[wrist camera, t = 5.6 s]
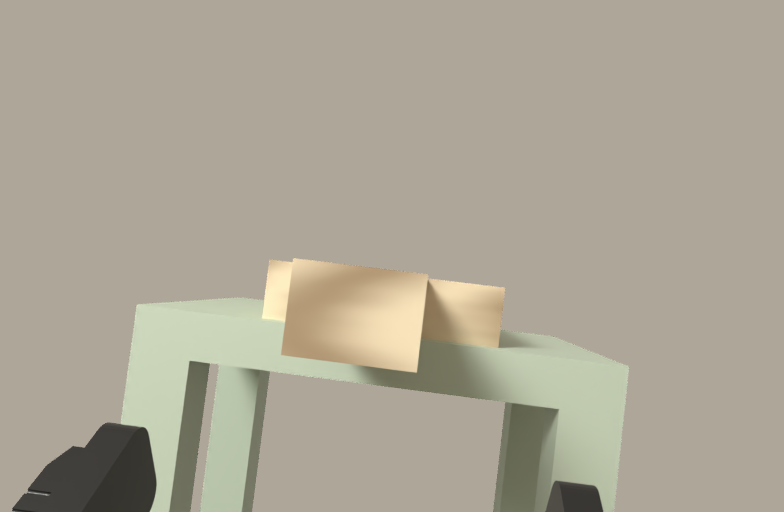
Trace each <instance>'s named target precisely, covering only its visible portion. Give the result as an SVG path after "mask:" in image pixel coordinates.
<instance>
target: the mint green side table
mask: <svg viewBox="0 0 784 512" xmlns="http://www.w3.org/2000/svg"><path fill="white" fill-rule="evenodd" d="M263 307H264V300H256V299H249V298H226V299H211V300H196V301H181V302H167V303H151V304H138V305H137V308H136V316H135V323H134V330H133V337H132V345H131V352H130V360H129V367H128V374H127V381H126V388H125V396H124V403H123V410H122V417H121V424H123V425H131V426H138V427H145V428H146V429H147V431H148V433H149V438H150V444H151V450H152V456H153V462H154V467H155V473H156V480H157V487H156V494H155V498H154V502H153V505H152V508H151V510H150V512H190V509H191V501H192V494H193V486H194V478H195V471H196V463H197V455H198V448H199V441H200V433H201V426H202V418H203V410H204V403H205V396H206V388H207V380H208V373H209V365H210V363H211V364H219V370H218V377H217V385H216V393H215V400H214V408H213V416H212V423H211V431H210V439H209V446H208V453H207V461H206V469H205V477H204V484H203V493H202V499H201V507H200V512H252V506H253V499H254V490H255V483H256V475H257V467H258V459H259V452H260V444H261V436H262V428H263V420H264V412H265V405H266V397H267V389H268V381H269V374H270V371H273V372H280V373H287V374H296V375H303V376H310V377H318V378H325V379H333V380H341V381H349V382H356V383H363V384H371V385H380V386H386V387H394V388H401V389H410V390H418V391H425V392H432V393H440V394H447V395H456V396H463V397H470V398H478V399H485V400H493V401H500V402H505V411H504V420H503V429H502V439H501V448H500V456H499V465H498V474H497V483H496V493H495V502H494V511H493V512H545V511H546V508H547V504H548V500H549V497H550V493H551V489H552V486H553V483H554V482H555V481H556V480H557V481H564V482H572V483H579V484H587V485H594V486H596V487H597V489H598V491H599V495H600V499H601V503H602V507H603V512H614V506H615V496H616V486H617V477H618V467H619V458H620V448H621V438H622V429H623V419H624V409H625V400H626V390H627V381H628V370H629V366H626V365H623V364H621V363H619V362H616V361H614V360H611V359H609V358H606V357H604V356H601V355H598V354H596V353H594V352H591V351H589V350H586V349H584V348H581V347H579V346H576V345H574V344H571V343H569V342H566V341H564V340H561V339H559V338H556V337H554V336H546V335H539V334H530V333H522V332H514V331H506V330H500V337H499V346H498V348H495V347H487V346H479V345H471V344H463V343H456V342H448V341H440V340H432V339H424V338H421V341H420V349H419V358H418V366H417V373H415V372H407V371H399V370H392V369H384V368H376V367H369V366H361V365H353V364H345V363H338V362H330V361H322V360H315V359H307V358H299V357H291V356H284V355H281V350H282V343H283V335H284V327H285V321H281V320H273V319H265V318H262V315H263Z"/></svg>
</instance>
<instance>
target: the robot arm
mask: <svg viewBox="0 0 784 512" xmlns="http://www.w3.org/2000/svg"><path fill="white" fill-rule="evenodd" d="M156 487H157V480H156V473H155V467H154V462H153V456H152V450H151V444H150V438H149V433H148V431H147V429H146V428H145V427H138V426H131V425H123V424H116V423H105V424H104V425H102V426H101V427H100V428H99V429H98V431H97V432H96V433H95V435H94V436H93V437H92V439H91V440H90V441H89V443H88V444H87V445H86V447H85V448H82V447H74V446H73V447H71V448H70V449H69V450H67V451H66V452H64V453H63V454H62V455H60V456H59V457H58V458H56V459H55V460H54V461H52V462H51V463H49V464H48V465H47V466H46V467H45V468H44V469H43V471H42V472H41V473H40V474H39V476H38V477H37V478H36V479H35V481H34V482H33V483H32V484H31V486H30V487H29V488H28V493H27V494H24V495H23V496H22V497H21V498H20V500H19V501H18V502H17V503H16V505H15V506H14V507H13V510H12V512H150V510H151V508H152V505H153V502H154V498H155V494H156ZM545 512H603V507H602V503H601V499H600V495H599V491H598V489H597V487H596V486H594V485H587V484H579V483H572V482H564V481H557V480H556V481H555V482H554V483H553V486H552V489H551V493H550V497H549V500H548V504H547V508H546V511H545Z"/></svg>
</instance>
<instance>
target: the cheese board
mask: <svg viewBox="0 0 784 512" xmlns="http://www.w3.org/2000/svg"><path fill="white" fill-rule="evenodd" d="M504 293H505V288H501V287H493V286H485V285H477V284H469V283H460V282H451V281H443V280H435V279H428V274H421V273H412V272H404V271H395V270H387V269H379V268H370V267H362V266H354V265H345V264H337V263H328V262H319V261H312V260H304V259H295V258H293V262H285V261H276V260H270V262H269V269H268V276H267V284H266V292H265V300H264V307H263V315H262V318H265V319H273V320H281V321H285V327H284V335H283V343H282V350H281V355H284V356H291V357H299V358H307V359H315V360H322V361H330V362H338V363H345V364H353V365H361V366H369V367H376V368H384V369H392V370H399V371H407V372H415V373H417V366H418V358H419V349H420V341H421V338H424V339H432V340H440V341H448V342H456V343H463V344H471V345H479V346H487V347H495V348H498V346H499V337H500V328H501V319H502V311H503V302H504V301H503V300H504Z"/></svg>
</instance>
